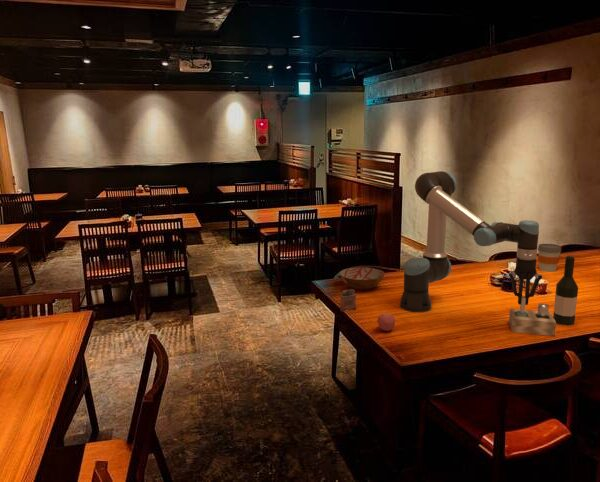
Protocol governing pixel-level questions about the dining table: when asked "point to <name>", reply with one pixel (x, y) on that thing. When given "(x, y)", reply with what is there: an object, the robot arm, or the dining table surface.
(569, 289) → the wine bottle
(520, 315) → the teal peg
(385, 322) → the apple
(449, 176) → the robot arm
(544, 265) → the reusable coffee cup
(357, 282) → the bowl
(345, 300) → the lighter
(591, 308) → the dining table surface
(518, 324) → the socket block
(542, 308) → the steel peg
